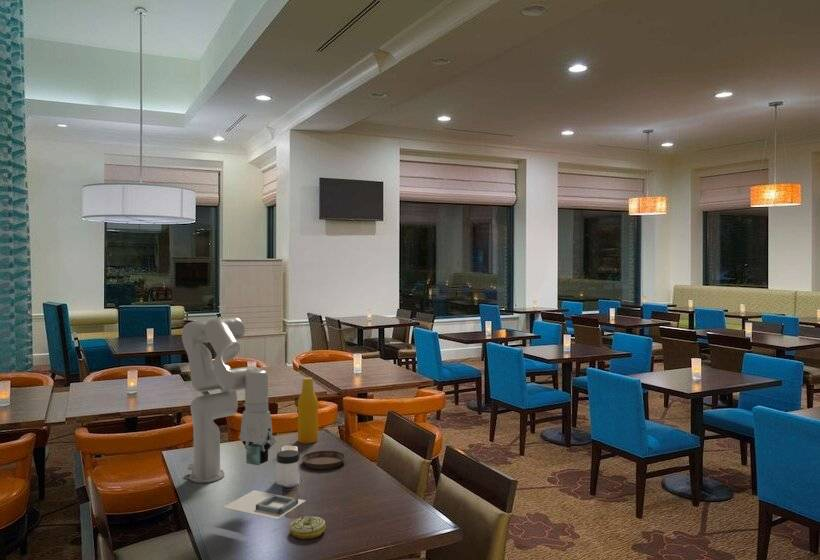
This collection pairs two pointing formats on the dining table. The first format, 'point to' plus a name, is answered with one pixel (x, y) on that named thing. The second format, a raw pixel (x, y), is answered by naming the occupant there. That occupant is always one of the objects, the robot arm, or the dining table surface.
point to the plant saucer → (323, 459)
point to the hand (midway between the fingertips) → (257, 460)
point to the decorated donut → (307, 527)
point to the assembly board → (265, 504)
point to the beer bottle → (307, 413)
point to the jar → (287, 467)
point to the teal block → (253, 453)
